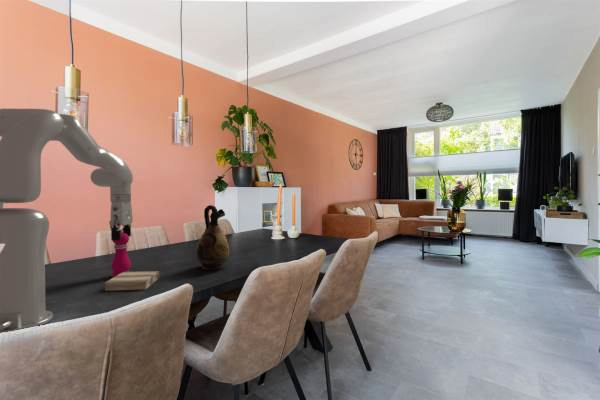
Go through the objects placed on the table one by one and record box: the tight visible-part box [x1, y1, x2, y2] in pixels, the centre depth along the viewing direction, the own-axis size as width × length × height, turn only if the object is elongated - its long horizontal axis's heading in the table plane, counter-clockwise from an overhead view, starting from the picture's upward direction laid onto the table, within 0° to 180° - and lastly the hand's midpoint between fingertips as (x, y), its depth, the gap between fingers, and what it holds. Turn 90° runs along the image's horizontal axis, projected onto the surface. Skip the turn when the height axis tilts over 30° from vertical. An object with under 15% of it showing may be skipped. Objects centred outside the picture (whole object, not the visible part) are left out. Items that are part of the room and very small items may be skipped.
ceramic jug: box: [195, 204, 230, 271], centre depth 139 cm, size 17×15×30 cm
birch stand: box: [104, 270, 160, 292], centre depth 114 cm, size 14×14×3 cm
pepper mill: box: [110, 229, 132, 278], centre depth 124 cm, size 7×7×20 cm
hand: (121, 238), depth 124 cm, fingers open, 9 cm apart
